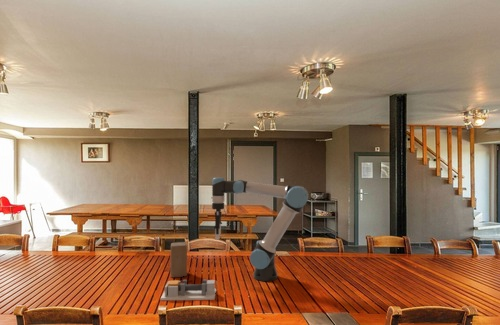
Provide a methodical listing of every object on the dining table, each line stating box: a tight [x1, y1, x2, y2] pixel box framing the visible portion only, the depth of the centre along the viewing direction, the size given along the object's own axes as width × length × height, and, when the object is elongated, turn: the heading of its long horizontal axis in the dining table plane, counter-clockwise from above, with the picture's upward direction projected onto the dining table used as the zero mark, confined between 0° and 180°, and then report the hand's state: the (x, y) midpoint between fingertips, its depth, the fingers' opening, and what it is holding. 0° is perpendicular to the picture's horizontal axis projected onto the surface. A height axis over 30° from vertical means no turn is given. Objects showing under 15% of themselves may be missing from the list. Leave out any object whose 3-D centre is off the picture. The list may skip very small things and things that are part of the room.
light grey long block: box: [160, 279, 217, 301], centre depth 167 cm, size 28×12×7 cm, turn 92°
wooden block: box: [170, 241, 188, 278], centre depth 199 cm, size 10×10×20 cm
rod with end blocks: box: [167, 279, 216, 295], centre depth 167 cm, size 24×5×6 cm, turn 92°
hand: (218, 237), depth 190 cm, fingers open, 13 cm apart
